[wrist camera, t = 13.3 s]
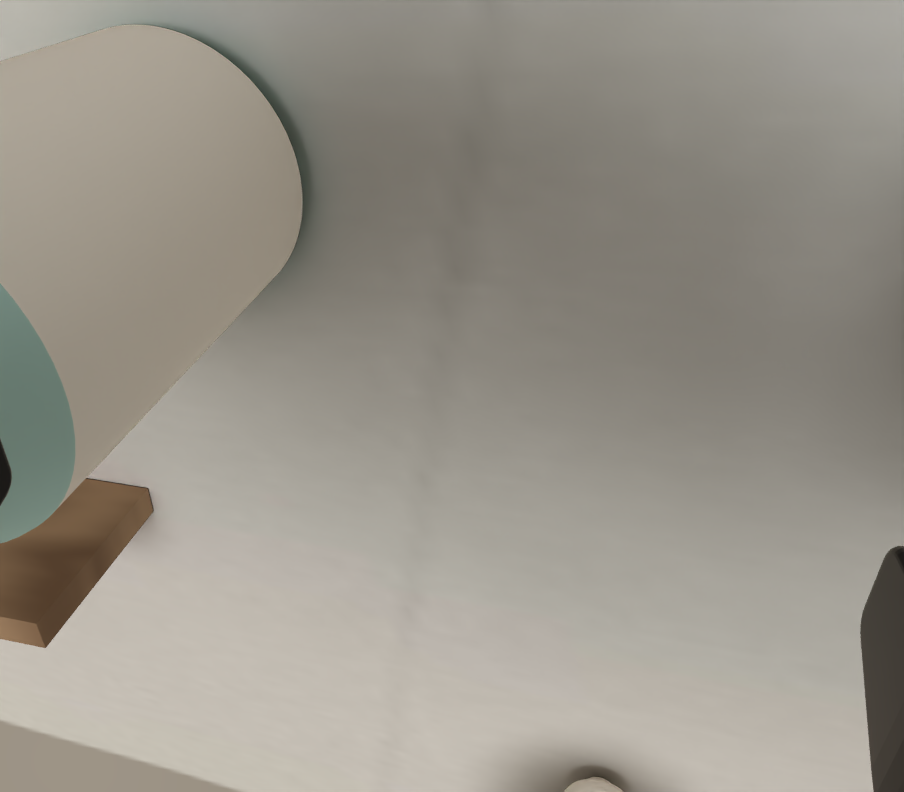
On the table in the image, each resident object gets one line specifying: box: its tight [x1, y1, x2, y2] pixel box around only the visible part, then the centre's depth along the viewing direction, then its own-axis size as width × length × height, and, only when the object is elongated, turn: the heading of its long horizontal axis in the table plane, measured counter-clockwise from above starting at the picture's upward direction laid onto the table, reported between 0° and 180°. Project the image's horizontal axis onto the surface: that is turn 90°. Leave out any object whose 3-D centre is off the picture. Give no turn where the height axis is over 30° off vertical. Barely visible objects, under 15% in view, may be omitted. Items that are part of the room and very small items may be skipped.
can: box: [0, 25, 303, 543], centre depth 17 cm, size 7×7×12 cm
